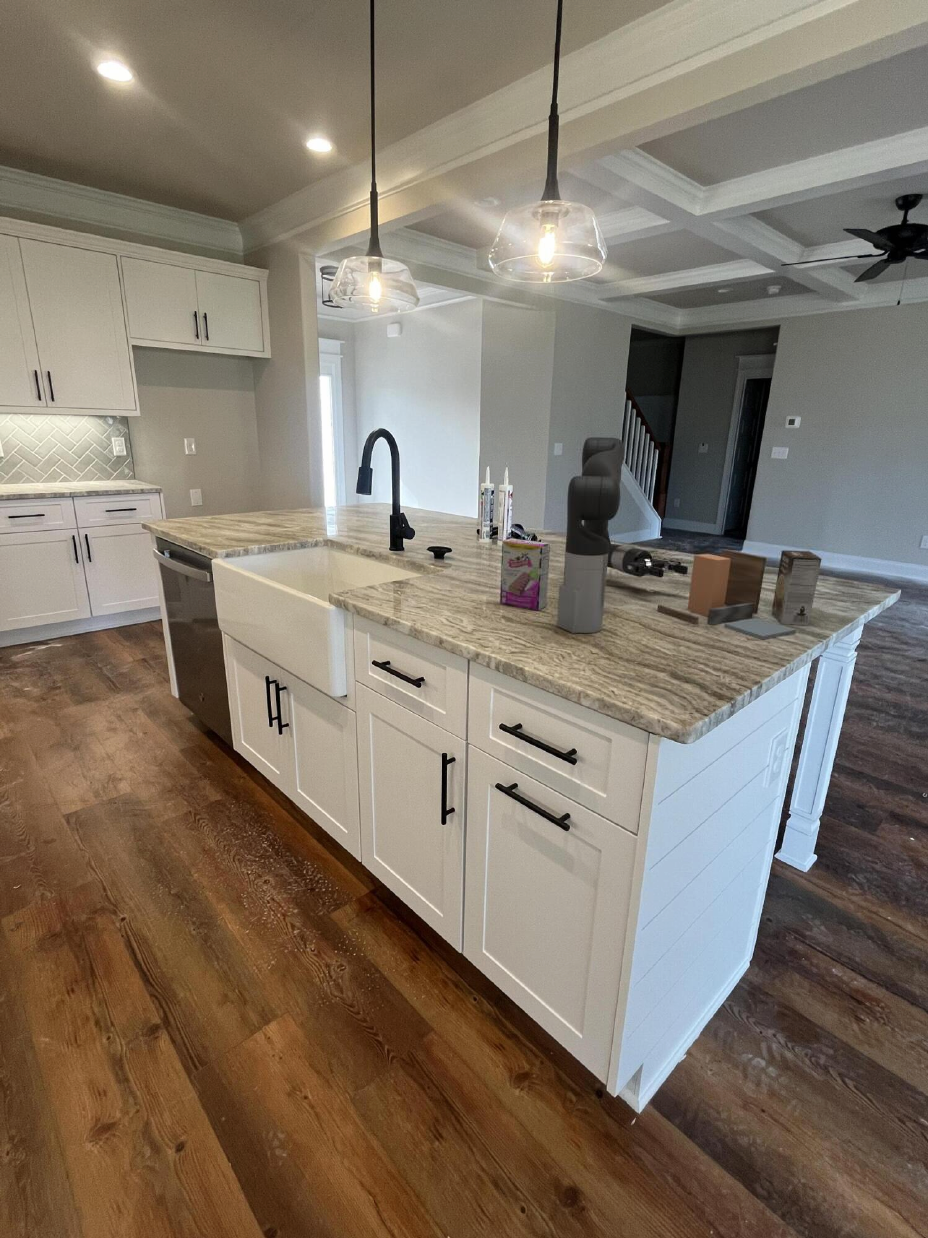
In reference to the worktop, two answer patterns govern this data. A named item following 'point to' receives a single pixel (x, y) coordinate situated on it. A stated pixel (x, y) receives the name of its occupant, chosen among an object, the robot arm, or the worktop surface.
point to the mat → (759, 628)
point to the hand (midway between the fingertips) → (674, 572)
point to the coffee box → (795, 587)
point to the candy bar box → (524, 573)
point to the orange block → (708, 583)
